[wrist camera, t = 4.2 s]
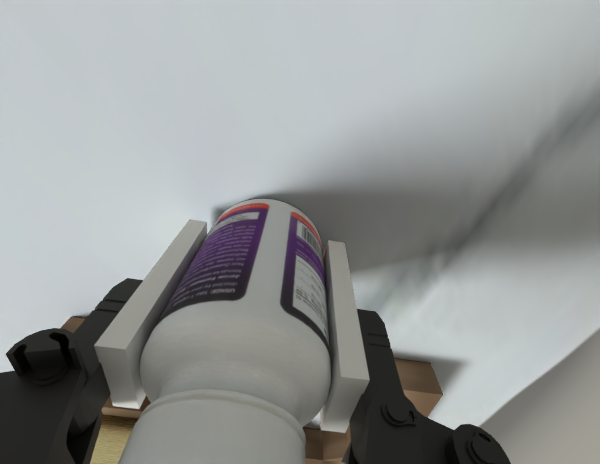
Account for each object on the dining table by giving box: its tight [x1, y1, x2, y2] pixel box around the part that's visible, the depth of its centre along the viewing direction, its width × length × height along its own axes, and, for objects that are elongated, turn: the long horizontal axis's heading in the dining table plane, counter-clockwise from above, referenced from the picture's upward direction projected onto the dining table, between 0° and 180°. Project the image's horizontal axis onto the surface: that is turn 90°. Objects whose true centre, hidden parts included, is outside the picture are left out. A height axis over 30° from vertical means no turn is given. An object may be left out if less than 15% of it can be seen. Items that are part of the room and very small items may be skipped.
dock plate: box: [60, 317, 443, 464], centre depth 19 cm, size 22×12×3 cm, turn 81°
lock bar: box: [90, 414, 139, 464], centre depth 17 cm, size 6×3×4 cm, turn 81°
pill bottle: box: [118, 199, 331, 464], centre depth 10 cm, size 5×5×10 cm
